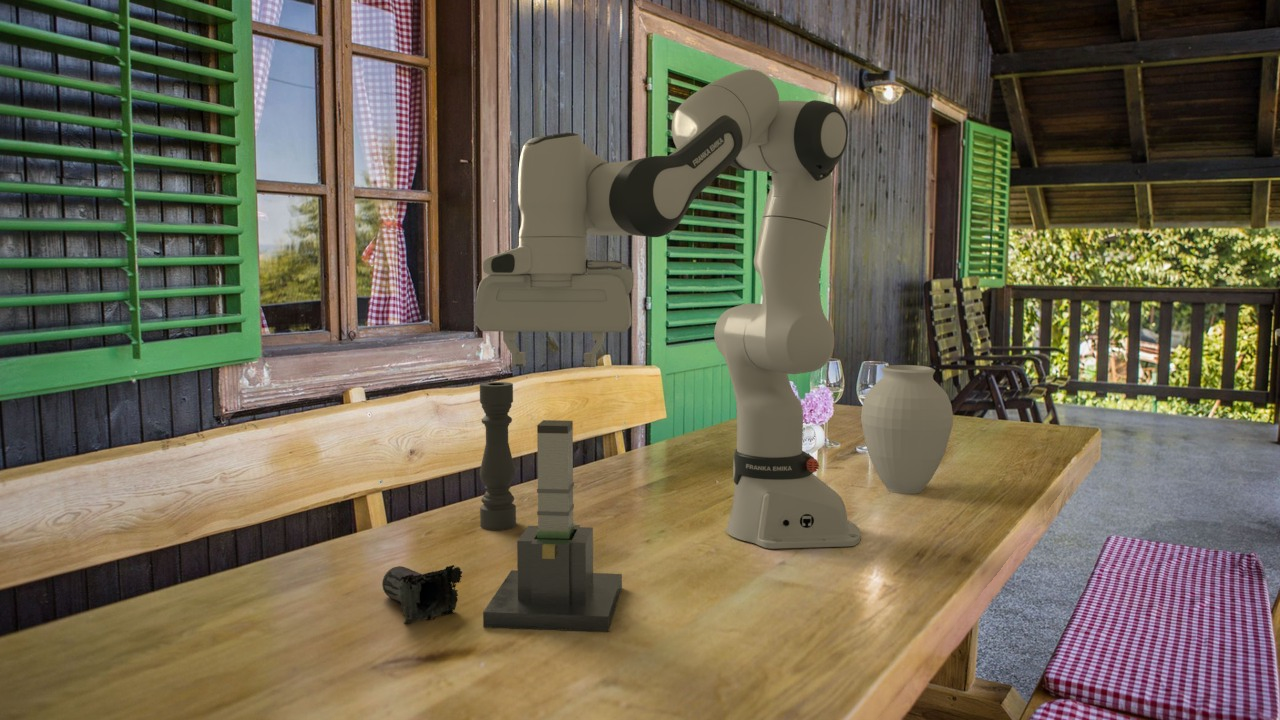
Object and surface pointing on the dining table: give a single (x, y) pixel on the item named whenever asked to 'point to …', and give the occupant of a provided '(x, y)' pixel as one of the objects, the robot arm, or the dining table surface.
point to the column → (555, 480)
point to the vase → (906, 427)
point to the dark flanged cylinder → (423, 591)
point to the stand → (555, 587)
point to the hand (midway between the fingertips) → (554, 366)
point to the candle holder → (497, 458)
